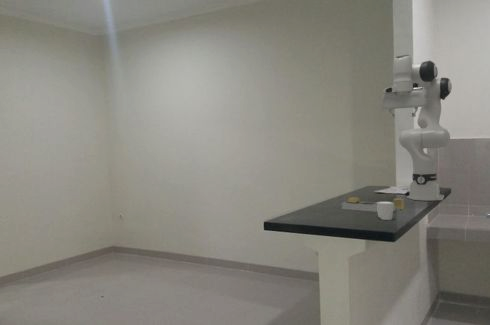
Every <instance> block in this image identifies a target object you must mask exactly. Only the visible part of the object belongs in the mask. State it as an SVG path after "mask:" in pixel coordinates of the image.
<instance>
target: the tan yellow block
mask: <svg viewBox="0 0 490 325" xmlns="http://www.w3.org/2000/svg"><path fill="white" fill-rule="evenodd" d="M392 202H393V203H394V204H396V209H398V210H399V211H403V210H405V198H397V197H396V198H393V199H392Z"/></svg>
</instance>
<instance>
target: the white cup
mask: <svg viewBox="0 0 490 325" xmlns="http://www.w3.org/2000/svg"><path fill="white" fill-rule="evenodd" d="M376 203H377V211H378V212H377V216H378V220H381V221H382V220H383V221H391V220H392V219H393V217H394V216H393V212H394V211H393V204H394V203H393V201H377V202H376Z"/></svg>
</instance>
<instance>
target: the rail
mask: <svg viewBox="0 0 490 325" xmlns="http://www.w3.org/2000/svg"><path fill="white" fill-rule="evenodd" d="M341 210H349V211H350V210H351V211H352V210H354V211H363V212H374V213H376V212H377V213H378V211H377V202H374V201H373V202H372V201H360V200H359V203H358V204H354V203H348V200H347V201H344V202H341ZM396 210H397V208H396V204H393V213H395V212H396Z"/></svg>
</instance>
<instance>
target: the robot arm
mask: <svg viewBox="0 0 490 325" xmlns="http://www.w3.org/2000/svg"><path fill="white" fill-rule="evenodd" d="M393 59H394V60H393V67H392V76H393V82H392V85H391V86H389V87H386V88H384V89H383V95H382V96H381V100H380V103H381V104H380V107H381V109H382V110H388V112H389V114H390V118H391V119H396V115H395V114H393V110H395V109H396V110H397V109H408V108H409V109H411V108H413V109H414V112H412V113H411V118H415V117H416V114H417V112H418V110H419V108H420V110H419V113H418V117H417V121H416V122H417V125H418V126H419V128H409V129H405V130H402V131H401V133H400V134H399V137H398V142H399V145H401V147H403V148H404V149H405V150H406V151H407V152H408V153H409V155H410V156H411V159H412V169H413V172H412V181H411V182H410V183H409V195H407V196H406V199H409V200H415V201H423V202H424V201H428V202H429V201H433V202H434V201H443V200H444V198H445V195H444V194H441V189H440V187H441V186H440V185H439V183H438V181H437V176H438V175H437V172H436V160H435V158H434V157H433V156H431V155H430V154H427V153H426V152H425V151H424V149H438V148H439V149H440V148H444V147H446V146H448V144H450V140H451V134H450V132H449V131H448V129H446V128H445V127H442V126H441V124H440V117H441V114H442V102H441V101H442V100H443V101H445V100H446V98H448V96H449V95H450V94H451V92H452V88H453V85H452V82H451V80H450V78H448V77H439V78H437V77H438V72H439V70H438V67H437V65H436V64H435V63H434V61H431V60H427V61H422V62H416V63H415V62H414V63H413V61H412V55H410V54H405V55H398V56H396V57H394V58H393Z"/></svg>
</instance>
